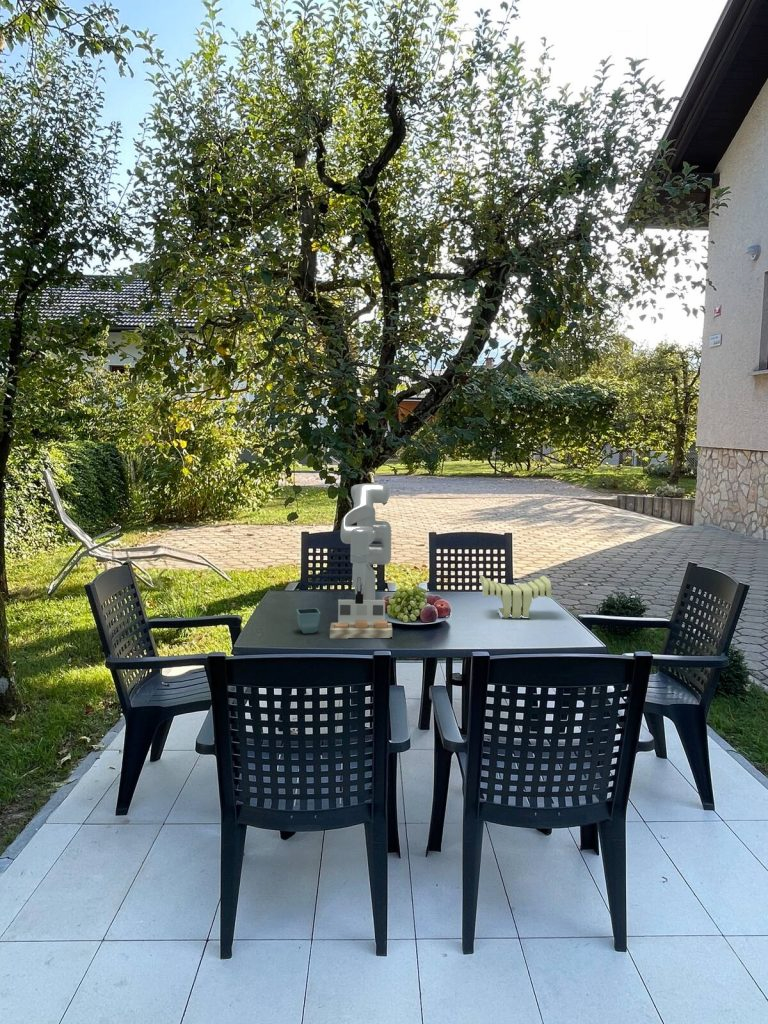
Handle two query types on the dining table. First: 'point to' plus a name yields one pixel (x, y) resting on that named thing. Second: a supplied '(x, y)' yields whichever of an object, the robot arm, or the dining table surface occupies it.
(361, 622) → the middle key
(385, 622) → the key
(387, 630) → the key board
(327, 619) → the dining table surface
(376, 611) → the pattern sign
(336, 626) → the key
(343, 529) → the robot arm
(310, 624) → the flower pot
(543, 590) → the slatted curved stool
